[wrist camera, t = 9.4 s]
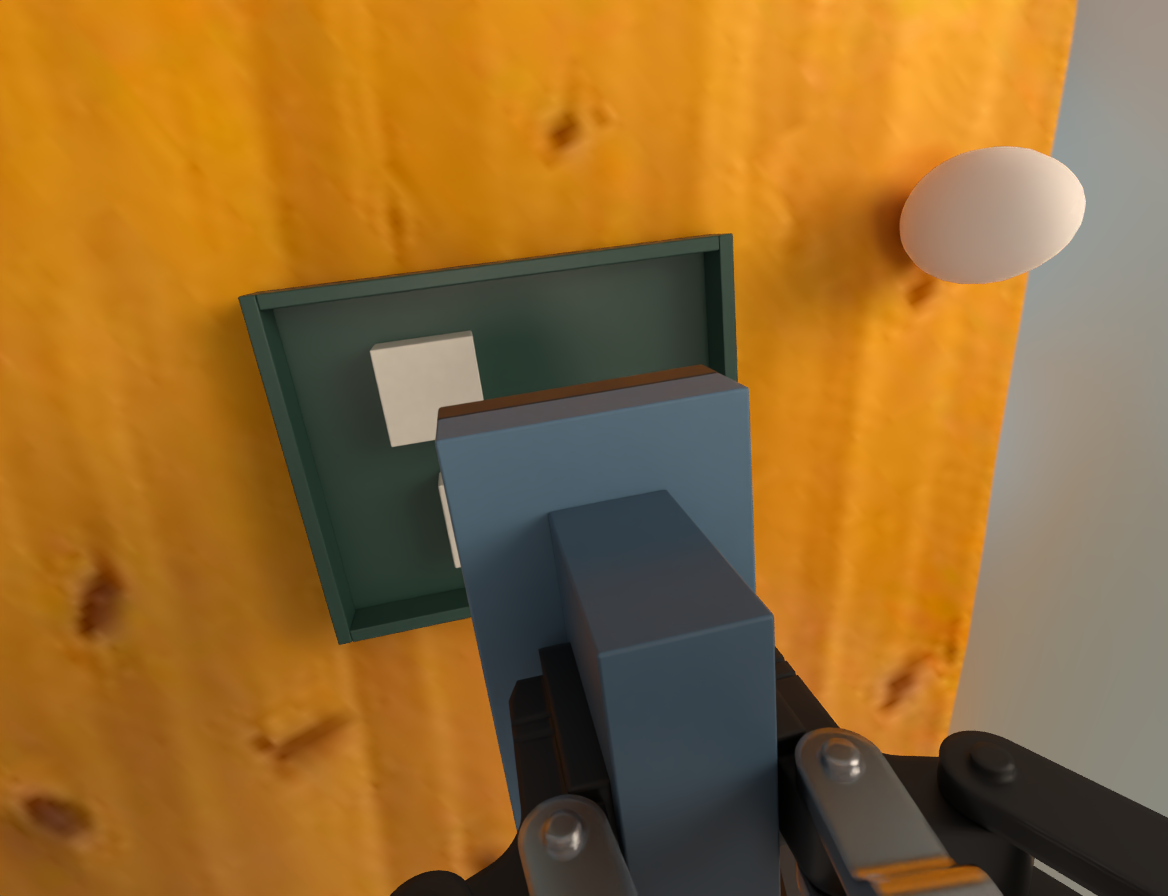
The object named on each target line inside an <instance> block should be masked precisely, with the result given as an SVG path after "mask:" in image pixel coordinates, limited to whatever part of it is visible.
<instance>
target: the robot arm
mask: <svg viewBox="0 0 1168 896" xmlns="http://www.w3.org/2000/svg"><path fill="white" fill-rule="evenodd" d="M538 652H539V658H540V663H541V669H542V675H539V676H535V677H531V678H526V679H522V680H518V681H517V682H516V684H515V687H514V689H513V691H512V694H511V696H510V699H509V710H510V719H511V727H512V736H513V743H514V744H513V745H514V753H515V762H516V771H517V779H518V788H519V797H520V805H521V821H520V826H519V829H518V832H517V834H516V836H515V838H514V840H513V842H512V843H511V845H510V846H509V848H508V849H507V850H506V851H505V852H504V854H503V855H502V856H501V857H499V858H498V859H497V860H496V861H495V862H493V863H492V864H491V865H489V866H488V867H486V868H485V869H483V870H481V871H480V872H478V873H477V874H475V875H473V876H472V877H470V878H468V879H467V880H464V879H463V878H462V877H460V876H458V875H457V874H455V873H452V872H449V871H441V870H438V871H429V872H425V873H422V874H419V875H417V876H414V877H413V878H411V879H409V880H407V881H406V882H404V883H403V884H402V885H400V886H399V887H398V888H397V889H396V890H395V891H394V892H393V893H392V894H391V895H390V896H639V894H638V891H637V889H636V887H635V884H634V882H633V879H632V877H631V875H630V872H629V870H628V867H627V865H626V863H625V860H624V858H623V855H622V853H621V851H620V848H619V841H618V834H617V827H616V820H615V813H614V806H613V799H612V791H611V784H610V779H609V776H608V772H607V769H606V765H605V762H604V758H603V755H602V751H601V748H600V744H599V741H598V737H597V734H596V730H595V727H594V723H593V720H592V716H591V713H590V709H589V706H588V702H587V699H586V695H585V692H584V688H583V685H582V681H581V678H580V674H579V671H578V667H577V664H576V660H575V657H574V653H573V650H572V646H571V643H570V642H567V643H562V644H558V645H553V646H549V647H544V648H540V649H538ZM775 678H776V720H777V762H778V803H779V845H780V846H782V845H785V844H787V845H788V847H789V849H790V850H791V852H792V854H793V856H794V858H795V860H796V879H797V884H798V887H799V890H800V892H801V895H802V896H1082V895H1080V894H1079V893H1077V892H1076V891H1074V890H1072V889H1071V888H1069V887H1068V886H1066V885H1064V884H1063V883H1061V882H1059V881H1058V880H1056V879H1054V878H1053V877H1051V876H1049V875H1048V874H1046V873H1045V872H1043V871H1041V870H1039V869H1038V868H1036V867H1035V866H1033V865H1034V859H1035V858H1036V859H1038V860H1039V861H1041V862H1043V863H1044V864H1046V865H1048V866H1049V867H1051V868H1053V869H1055V870H1056V871H1058V872H1059V873H1061V874H1063V875H1064V876H1066V877H1068V878H1069V879H1071V880H1073V881H1074V882H1076V883H1078V884H1079V885H1081V886H1083V887H1084V888H1086V889H1088V890H1089V891H1091V892H1093V893H1094V894H1096V895H1098V896H1168V818H1167V817H1165V816H1163V815H1161V814H1159V813H1157V812H1155V811H1153V810H1151V809H1149V808H1147V807H1145V806H1143V805H1141V804H1139V803H1137V802H1134V801H1132V800H1130V799H1128V798H1126V797H1124V796H1122V795H1120V794H1118V793H1116V792H1114V791H1112V790H1110V789H1108V788H1106V787H1104V786H1102V785H1100V784H1098V783H1096V782H1094V781H1092V780H1090V779H1088V778H1085V777H1083V776H1081V775H1079V774H1077V773H1075V772H1073V771H1071V770H1069V769H1067V768H1065V767H1063V766H1061V765H1059V764H1057V763H1055V762H1053V761H1051V760H1048V759H1047V758H1045V757H1042V756H1040V755H1038V754H1036V753H1034V752H1032V751H1030V750H1028V749H1026V748H1024V747H1022V746H1020V745H1018V744H1015V743H1014V742H1012V741H1010V740H1008V739H1005V738H1003V737H1000V736H997V735H994V734H991V733H987V732H980V731H961V732H957V733H954V734H952V735H950V736H948V737H947V738H946V739H944V740H943V742H942V744H941V746H940V750H939V757H925V756H898V755H889V754H884V753H881V751H880V750H879V749H878V748H877V747H876V746H875V745H874V744H873V743H872V742H871V741H869V740H868V739H866V738H865V737H863V736H861V735H859V734H857V733H855V732H852V731H849V730H846V729H841V728H839V727H838V725H837V724H836V723H835V722H834V720H833V719H832V718H831V717H830V715H829V714H828V713H827V711H826V710H825V709H824V708H823V706H822V705H821V704H820V703H819V701H818V700H817V699H816V697H815V696H814V695H813V694H812V692H811V691H810V690H809V689H808V687H807V686H806V685H805V684H804V682H803V681H802V680H801V678H800V677H799V676H798V675H797V676H796V674H795V671H794V670H793V668H792V667H791V666H790V665H789V663H788V662H787V661H785V660H784V657H783V656H782V654H781V653H780V652H779V651H778V649H777V648H776V647H775Z"/></svg>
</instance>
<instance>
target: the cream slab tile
mask: <svg viewBox="0 0 1168 896" xmlns="http://www.w3.org/2000/svg"><path fill="white" fill-rule="evenodd" d="M370 356H371V360H372V365H373V369H374V373H375V378H376V382H377V387H378V391H379V395H380V400H381V404H382V408H383V413H384V417H385V421H386V426H387V430H388V435H389V439H390V443H391V446H392V447H396V446H402V445H408V444H414V443H420V442H426V441H432V440H435V437H436V428H437V417H438V409H439V408H440V407H445V406H451V405H457V404H463V403H470V402H476V401H482V400H484V399H483V394H482V388H481V382H480V376H479V371H478V365H477V359H476V353H475V348H474V342H473V336H472V332H471V331H470V330H469V331H462V332H455V333H448V334H441V335H434V336H427V337H420V338H413V339H406V340H399V341H392V342H385V343H378V344H375V345H374V346H373V347H372V349H371V350H370Z"/></svg>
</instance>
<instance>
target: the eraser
mask: <svg viewBox="0 0 1168 896" xmlns="http://www.w3.org/2000/svg"><path fill="white" fill-rule="evenodd" d="M435 447H436V452H437V457H438V462H439V466H440V471H441V476H442V480H443V485H444V490H445V494H446V499H447V504H448V509H449V513H450V518H451V523H452V527H453V532H454V537H455V542H456V546H457V551H458V556H459V560H460V565H461V570H462V574H463V579H464V584H465V589H466V593H467V598H468V603H469V607H470V612H471V617H472V622H473V626H474V631H475V636H476V640H477V645H478V650H479V655H480V659H481V664H482V669H483V673H484V678H485V683H486V687H487V692H488V697H489V702H490V706H491V711H492V716H493V720H494V725H495V730H496V735H497V739H498V744H499V749H500V753H501V758H502V763H503V767H504V772H505V777H506V782H507V786H508V791H509V796H510V800H511V805H512V810H513V815H514V819H515V824H516V829H517V832H518V829H519V826H520V821H521V805H520V797H519V788H518V779H517V771H516V762H515V753H514V745H513V744H514V743H513V736H512V727H511V719H510V710H509V699H510V696H511V694H512V691H513V689H514V687H515V684H516V682H517V681H518V680H522V679H526V678H531V677H535V676H539V675H542V669H541V663H540V658H539V652H538V649H540V648H544V647H549V646H553V645H558V644H562V643H567V642H570V643H571V646H572V650H573V653H574V657H575V660H576V664H577V667H578V671H579V674H580V678H581V681H582V685H583V688H584V692H585V695H586V699H587V702H588V706H589V709H590V713H591V716H592V720H593V723H594V727H595V730H596V734H597V737H598V741H599V744H600V748H601V751H602V755H603V758H604V762H605V765H606V769H607V772H608V776H609V779H610V784H611V791H612V799H613V806H614V813H615V820H616V827H617V834H618V841H619V848H620V851H621V853H622V855H623V858H624V860H625V863H626V865H627V867H628V870H629V872H630V875H631V877H632V879H633V882H634V884H635V887H636V889H637V891H638V894H639V896H781V887H780V845H779V803H778V762H777V720H776V678H775V637H774V616H773V614H772V613H771V611H770V610H769V609H768V608H767V607H766V606H765V604H764V603H763V602H762V601H761V600H760V599H759V597H758V596H757V595H756V583H755V554H754V526H753V497H752V468H751V439H750V411H749V389H748V387H746V386H744V385H742V384H740V383H738V382H736V381H734V380H732V379H730V378H728V377H726V376H724V375H722V374H720V373H718V372H716V371H714V370H712V369H710V368H708V367H706V366H704V365H702V364H700V365H694V366H687V367H681V368H675V369H669V370H663V371H657V372H651V373H645V374H639V375H633V376H627V377H621V378H615V379H609V380H603V381H597V382H591V383H585V384H579V385H572V386H566V387H560V388H554V389H548V390H542V391H536V392H530V393H524V394H518V395H512V396H506V397H500V398H494V399H488V400H482V401H476V402H470V403H463V404H457V405H451V406H445V407H440V408H439V409H438V417H437V428H436V437H435Z"/></svg>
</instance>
